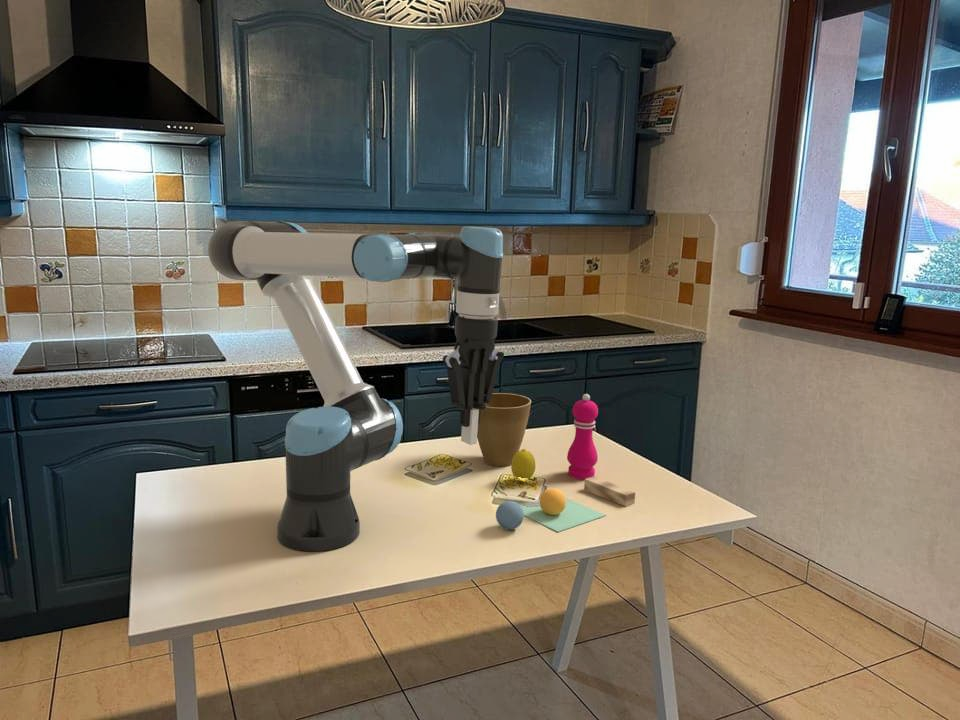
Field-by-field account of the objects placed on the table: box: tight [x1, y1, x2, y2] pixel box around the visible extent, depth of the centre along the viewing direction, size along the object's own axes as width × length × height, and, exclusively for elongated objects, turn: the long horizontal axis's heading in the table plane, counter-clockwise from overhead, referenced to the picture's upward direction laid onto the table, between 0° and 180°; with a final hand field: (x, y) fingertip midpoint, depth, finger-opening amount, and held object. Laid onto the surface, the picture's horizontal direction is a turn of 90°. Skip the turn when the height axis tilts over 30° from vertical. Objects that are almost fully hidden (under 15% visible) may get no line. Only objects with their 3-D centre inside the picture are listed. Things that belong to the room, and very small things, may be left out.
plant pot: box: [477, 392, 532, 467], centre depth 180 cm, size 15×15×16 cm
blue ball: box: [495, 500, 525, 530], centre depth 142 cm, size 6×6×6 cm
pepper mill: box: [566, 393, 599, 480], centre depth 172 cm, size 7×7×20 cm
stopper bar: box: [583, 475, 636, 507], centre depth 161 cm, size 12×3×2 cm, turn 39°
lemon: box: [510, 448, 536, 479], centre depth 167 cm, size 6×6×8 cm
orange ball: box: [538, 487, 567, 515], centre depth 150 cm, size 6×6×6 cm
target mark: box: [519, 497, 607, 533], centre depth 151 cm, size 14×14×1 cm
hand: (468, 442), depth 133 cm, fingers closed
